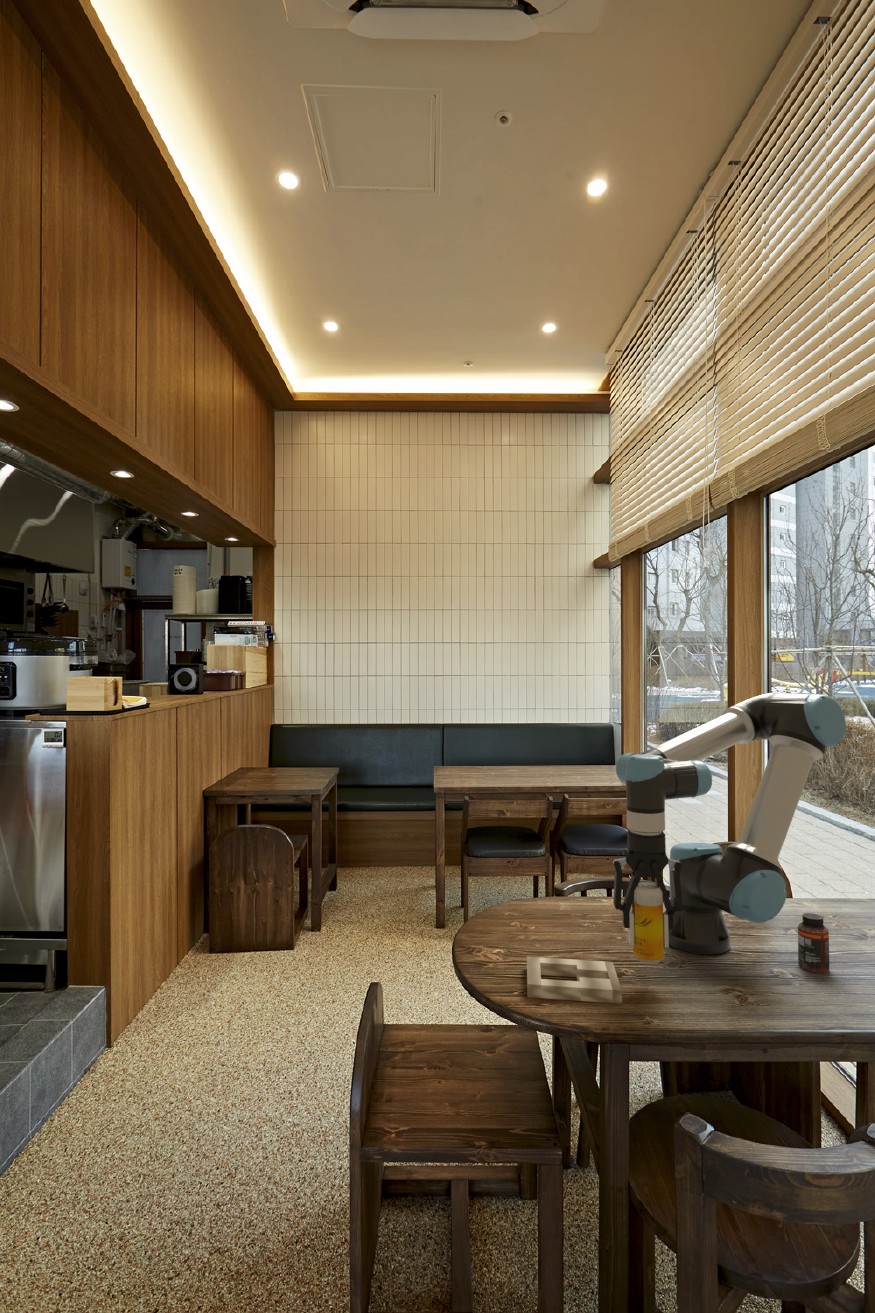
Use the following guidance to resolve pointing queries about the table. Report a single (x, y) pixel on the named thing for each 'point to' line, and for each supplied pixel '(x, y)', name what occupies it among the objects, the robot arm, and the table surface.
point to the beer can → (648, 923)
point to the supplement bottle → (813, 944)
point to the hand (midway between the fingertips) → (648, 943)
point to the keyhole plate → (591, 984)
